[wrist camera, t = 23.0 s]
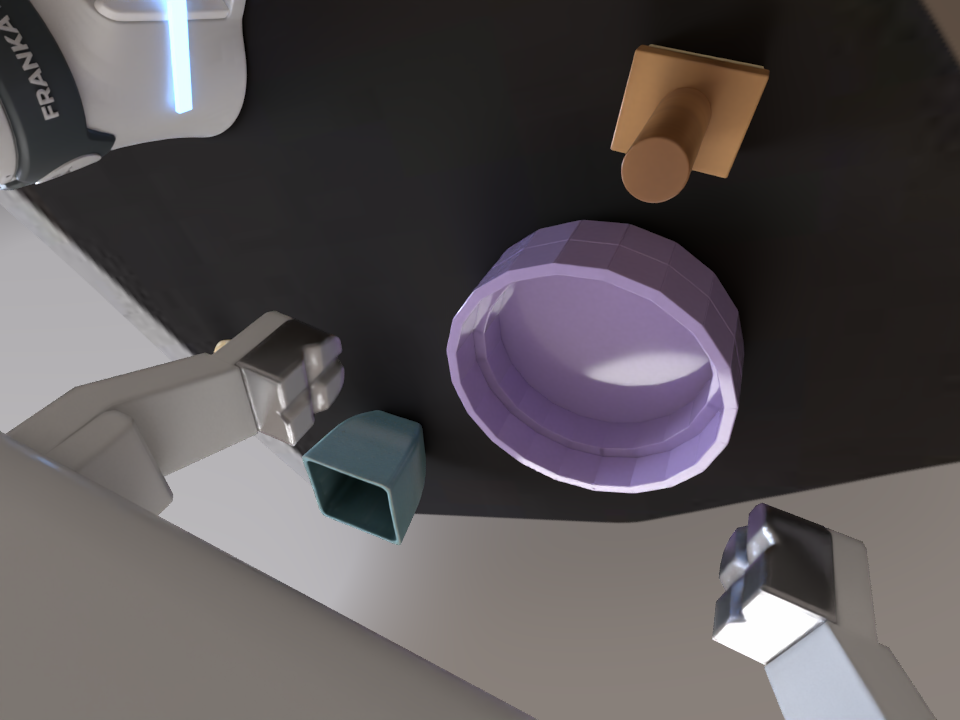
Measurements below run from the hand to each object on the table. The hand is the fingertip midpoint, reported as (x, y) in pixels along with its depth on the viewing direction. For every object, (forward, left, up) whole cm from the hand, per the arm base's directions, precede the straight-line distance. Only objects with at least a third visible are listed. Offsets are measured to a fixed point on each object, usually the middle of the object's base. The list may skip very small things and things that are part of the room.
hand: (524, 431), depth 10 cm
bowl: (+13, -8, -23) cm, 28 cm away
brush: (0, 0, -23) cm, 23 cm away
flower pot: (+22, -31, -23) cm, 45 cm away
